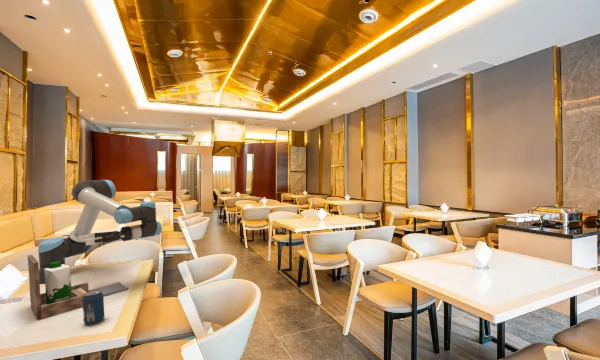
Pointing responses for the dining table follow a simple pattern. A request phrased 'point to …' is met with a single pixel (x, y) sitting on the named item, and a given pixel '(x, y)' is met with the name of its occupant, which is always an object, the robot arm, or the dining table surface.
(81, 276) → the dining table surface
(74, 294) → the offcut upper
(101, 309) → the soda can
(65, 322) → the dining table surface
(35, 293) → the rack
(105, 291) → the mat
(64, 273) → the soya milk
